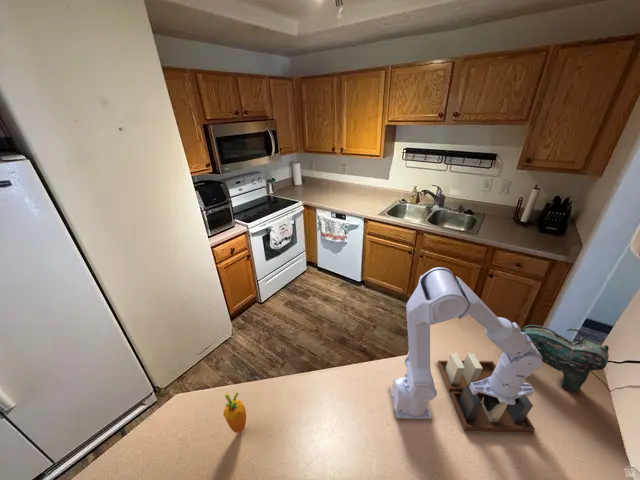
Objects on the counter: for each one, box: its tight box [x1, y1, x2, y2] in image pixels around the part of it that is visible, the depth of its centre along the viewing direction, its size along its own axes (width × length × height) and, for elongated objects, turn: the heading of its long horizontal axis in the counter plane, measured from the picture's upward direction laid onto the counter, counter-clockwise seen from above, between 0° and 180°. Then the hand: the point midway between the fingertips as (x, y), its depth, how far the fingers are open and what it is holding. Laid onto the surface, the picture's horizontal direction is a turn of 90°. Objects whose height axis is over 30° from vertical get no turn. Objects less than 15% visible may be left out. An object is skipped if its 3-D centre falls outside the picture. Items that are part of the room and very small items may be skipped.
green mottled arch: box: [520, 324, 610, 394], centre depth 75 cm, size 20×6×20 cm, turn 49°
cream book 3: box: [481, 397, 507, 422], centre depth 69 cm, size 2×5×8 cm, turn 178°
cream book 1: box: [445, 352, 465, 385], centre depth 78 cm, size 2×5×8 cm, turn 178°
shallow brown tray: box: [436, 359, 497, 393], centre depth 79 cm, size 17×9×2 cm, turn 88°
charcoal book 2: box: [506, 394, 534, 423], centre depth 68 cm, size 2×5×8 cm, turn 178°
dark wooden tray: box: [449, 392, 536, 434], centre depth 70 cm, size 17×9×2 cm, turn 88°
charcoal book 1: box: [458, 385, 482, 422], centre depth 69 cm, size 2×5×8 cm, turn 178°
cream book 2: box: [463, 352, 483, 385], centre depth 77 cm, size 2×5×8 cm, turn 178°
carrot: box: [223, 392, 247, 434], centre depth 65 cm, size 5×5×15 cm
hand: (491, 407), depth 69 cm, fingers closed on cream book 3, 2 cm apart
